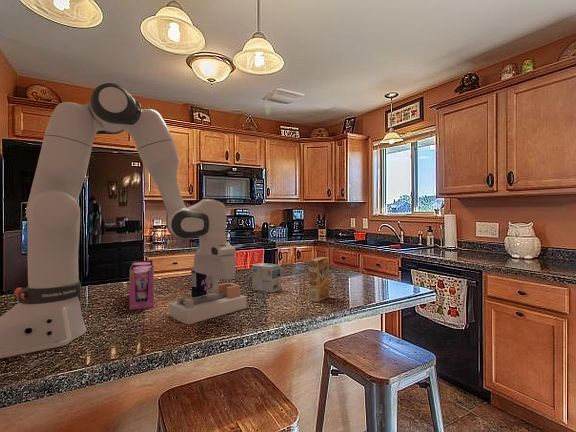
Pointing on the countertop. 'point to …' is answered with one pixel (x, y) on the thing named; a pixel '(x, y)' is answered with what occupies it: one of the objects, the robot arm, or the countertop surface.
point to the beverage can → (198, 284)
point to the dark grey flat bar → (206, 298)
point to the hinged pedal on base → (208, 305)
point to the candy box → (318, 279)
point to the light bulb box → (266, 277)
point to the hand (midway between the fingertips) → (213, 288)
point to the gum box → (141, 284)
